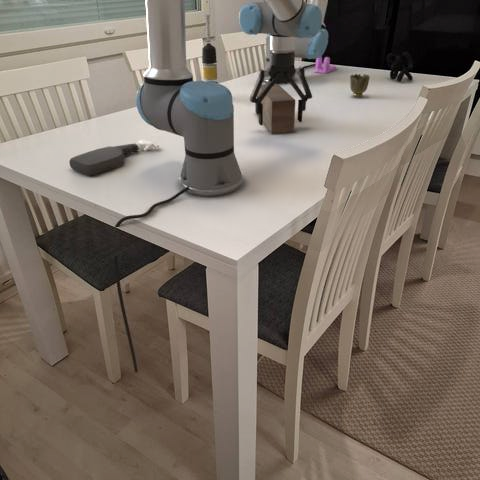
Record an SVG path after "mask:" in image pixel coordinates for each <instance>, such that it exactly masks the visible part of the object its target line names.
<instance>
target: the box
mask: <svg viewBox="0 0 480 480" xmlns="http://www.w3.org/2000/svg"><path fill="white" fill-rule="evenodd" d="M266 84H267V83H262V85H261V88H260V90H259V92H258V95H259V94H260V92H261V91H262V90H263V88H264V87H265V85H266ZM258 95H257V97H258ZM257 97H256V98H257ZM261 103H262V104H263V125H264V126H265V128H266V129H267V130H268V132H269V133H270V134H271V135H278V134H290V133H292V134H293V133H295V120H296V119H295V118H296V117H295V116H296V99H295V98H294V97H293V96H291V94H289V92H287V91H286V89H284V88H283V87H281V85H280V84H275V85H274V86H273V87H272V88H271V89H270V91H269V92H268V93H267V95H266V96H265V97H264V99H263V100H262V102H261ZM256 116H257V117H258V118H259V114H256Z"/></svg>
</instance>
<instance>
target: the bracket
mask: <svg viewBox="0 0 480 480" xmlns="http://www.w3.org/2000/svg"><path fill="white" fill-rule="evenodd" d="M322 61H324V63H322ZM315 63H316V65H315V66H314V67H315V68H314V72H315V73H321V74H327V73H330V72H332V71H335V70H336V69H337V65H335V64H331V58H330V57H329V56H325V57H324V59H323V56H321V57H320V58H318V59H315Z"/></svg>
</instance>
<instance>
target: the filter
mask: <svg viewBox="0 0 480 480" xmlns="http://www.w3.org/2000/svg"><path fill="white" fill-rule="evenodd" d="M210 17H211V14H204V18H205V27H206V29H205V30H206V31H205V33H206V39H207V40H206V42H207V43H206V45H204V46H202V49H201V50H202V51H201V52H202V54H201V55H202V57H201V58H202V61H201V63H202V71H203V72H202V73H203V74H202V75H203V81H206V82H215V83H218V84H219V82H218V81H216V80H218V64H216V63H218V61H217V48H216V47H215V46H214V45H212V43H210V42H211V40H210V39H211V31H210V29H211V28H210Z"/></svg>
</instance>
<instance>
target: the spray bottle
mask: <svg viewBox="0 0 480 480" xmlns="http://www.w3.org/2000/svg"><path fill="white" fill-rule="evenodd" d="M159 148H160V145H159V144H158V143H155V142H151V141H148V140H144V139H139V140H138V141H137V142H135V143H129V144H128V143H126V144H122V145H113V146H105V147H100V148H97V149H94V150H90V151H87V152H83V153H81V154H78V155H74V156H73V157H70V159H69V161H68V162H69V167H70V168H71V169H72V170H74V171H75V172H78V173H81V174H83V175H85V176H89V177H90V176H91V177H92V176H95V175H99V174H102V173H105V172H107V171H110V170H113V169H116V168H118V167H120V166H122V165H123V164H124V163H125V158H126V156H127V155H131V154H133V153H138V151H140V150H143V151H144V152H146V151H147V150H149V149H159Z"/></svg>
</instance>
